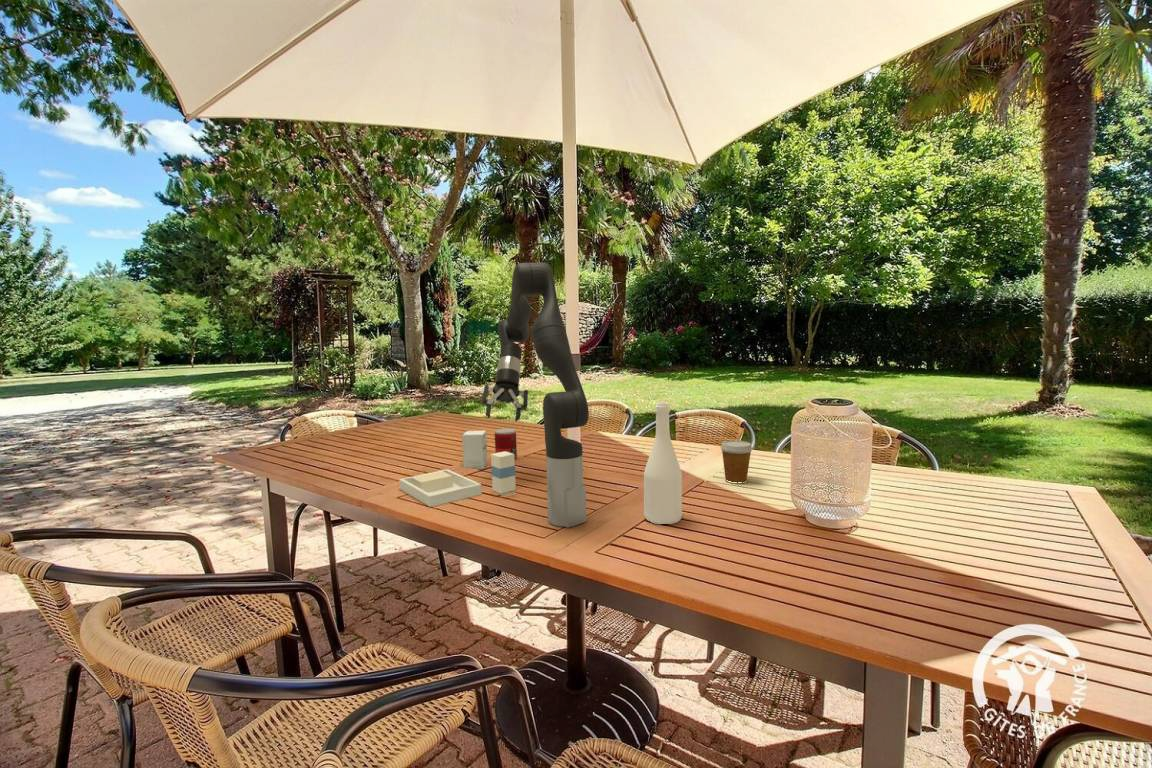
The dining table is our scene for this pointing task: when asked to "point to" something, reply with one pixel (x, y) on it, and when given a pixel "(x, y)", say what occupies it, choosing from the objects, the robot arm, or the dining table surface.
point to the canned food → (506, 441)
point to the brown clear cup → (736, 460)
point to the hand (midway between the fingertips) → (502, 418)
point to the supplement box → (474, 449)
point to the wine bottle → (662, 475)
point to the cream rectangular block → (433, 481)
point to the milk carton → (503, 473)
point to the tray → (443, 490)
